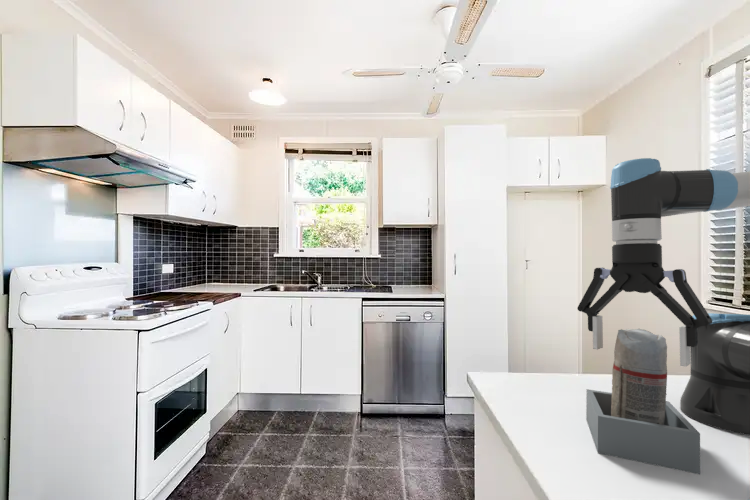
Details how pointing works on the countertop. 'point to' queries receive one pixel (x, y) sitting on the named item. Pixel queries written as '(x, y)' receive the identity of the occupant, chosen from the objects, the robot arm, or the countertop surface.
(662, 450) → the bin
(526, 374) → the countertop surface
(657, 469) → the countertop surface
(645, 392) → the white paper tall sack
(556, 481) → the countertop surface
